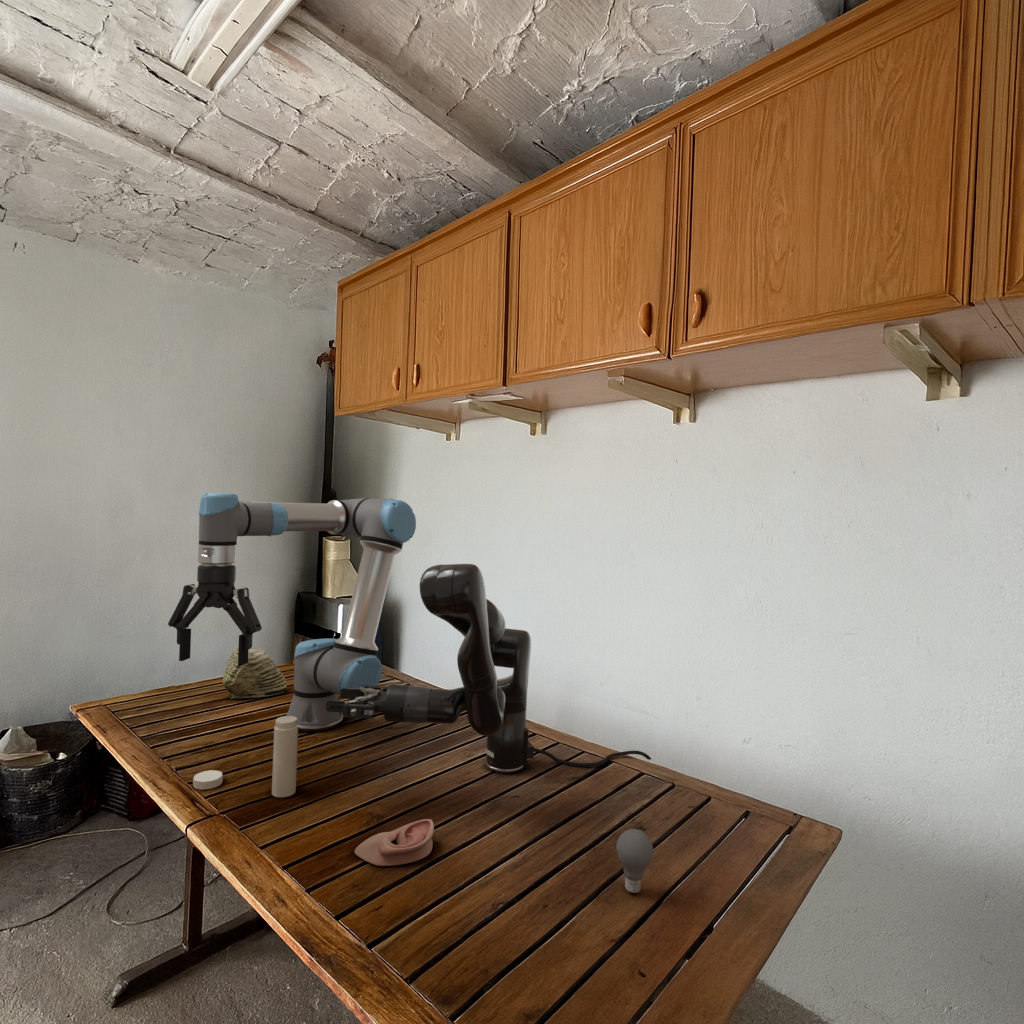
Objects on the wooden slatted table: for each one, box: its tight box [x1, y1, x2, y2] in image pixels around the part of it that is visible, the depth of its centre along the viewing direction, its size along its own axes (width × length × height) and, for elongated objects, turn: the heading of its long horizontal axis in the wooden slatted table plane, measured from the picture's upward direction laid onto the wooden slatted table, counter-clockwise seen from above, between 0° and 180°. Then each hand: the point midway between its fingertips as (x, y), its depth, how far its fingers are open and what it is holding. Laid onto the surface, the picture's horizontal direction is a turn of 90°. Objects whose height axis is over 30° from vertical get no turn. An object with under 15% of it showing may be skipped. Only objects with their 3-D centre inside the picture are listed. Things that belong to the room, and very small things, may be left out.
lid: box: [192, 769, 224, 791], centre depth 137 cm, size 6×6×2 cm
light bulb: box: [615, 828, 654, 894], centre depth 106 cm, size 6×6×10 cm
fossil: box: [222, 646, 288, 699], centre depth 198 cm, size 9×18×15 cm, turn 132°
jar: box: [271, 715, 299, 798], centre depth 135 cm, size 5×5×16 cm
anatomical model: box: [354, 818, 435, 867], centre depth 115 cm, size 13×4×12 cm
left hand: (213, 662), depth 137 cm, fingers open, 13 cm apart
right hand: (334, 699), depth 134 cm, fingers open, 8 cm apart
